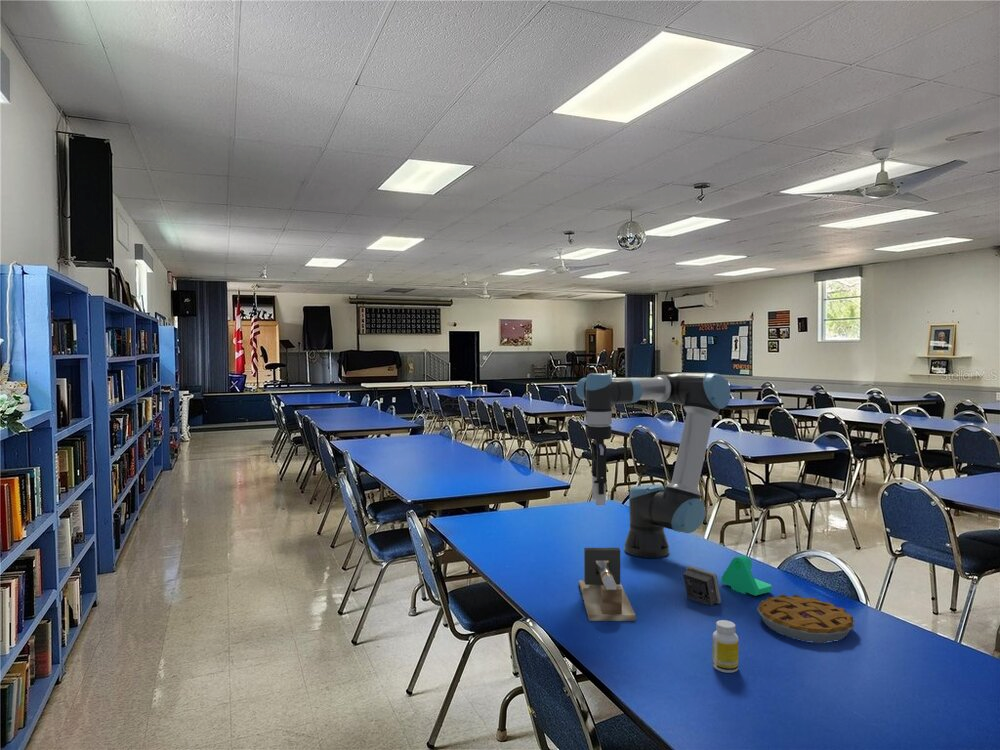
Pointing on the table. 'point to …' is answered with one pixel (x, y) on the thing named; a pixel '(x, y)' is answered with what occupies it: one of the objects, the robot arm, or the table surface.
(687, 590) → the electrical switch
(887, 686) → the table surface
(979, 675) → the table surface
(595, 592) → the pipe stand
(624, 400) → the robot arm
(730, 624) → the supplement bottle
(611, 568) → the collar
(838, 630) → the pie
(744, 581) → the camera mount
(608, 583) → the pipe
